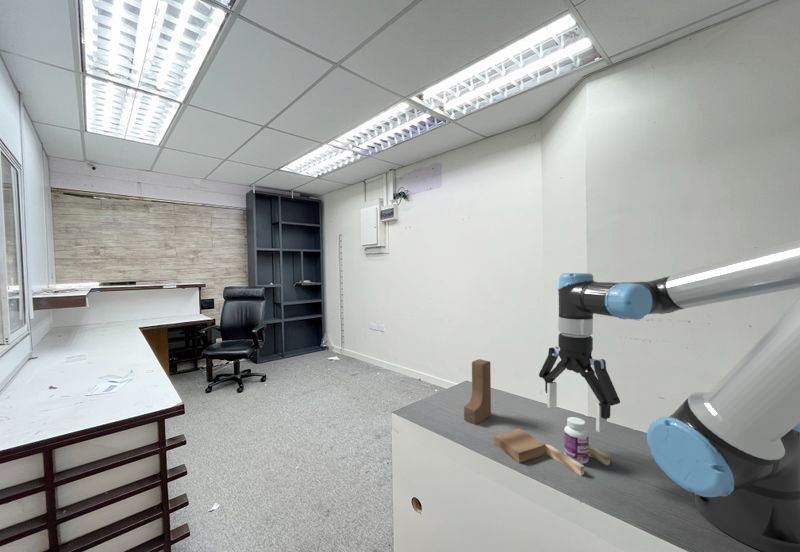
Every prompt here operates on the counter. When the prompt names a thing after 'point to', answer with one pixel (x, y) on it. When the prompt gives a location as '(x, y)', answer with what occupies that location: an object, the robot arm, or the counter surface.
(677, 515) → the counter surface
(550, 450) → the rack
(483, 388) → the wooden block
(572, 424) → the pill bottle
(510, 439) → the pedestal
